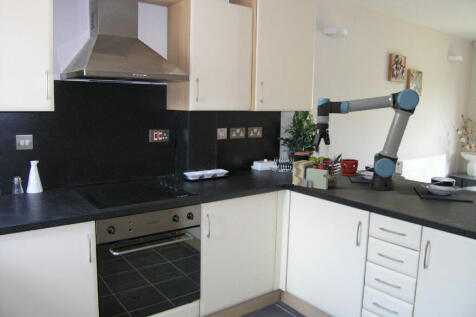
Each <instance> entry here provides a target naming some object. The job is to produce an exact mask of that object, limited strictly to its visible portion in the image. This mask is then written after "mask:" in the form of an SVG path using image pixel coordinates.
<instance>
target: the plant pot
mask: <svg viewBox="0 0 476 317" xmlns="http://www.w3.org/2000/svg"><path fill="white" fill-rule="evenodd" d="M358 167H359V159H355V158H354V159H353V158H343V159H340V170H341V175H343V176H346V177H354V176H357V174H358V173H357V171H358Z"/></svg>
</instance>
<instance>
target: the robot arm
mask: <svg viewBox="0 0 476 317" xmlns="http://www.w3.org/2000/svg"><path fill="white" fill-rule="evenodd" d="M419 103H420V96H419V94H418V92H417V91H416V90H414V89H412V88H406V89H402V90H401V91H397V92H393V93H390V94H389V95H383V96H381V95H380V96H373V97H367V98H359V99H352V100H351V99H350V100H344V101H331V99H330V98H326V97H320V98H318V99H317V105H316V106H317V108H316V109H317V111H316V129H317V130H316V132H315V137H314V140H313V147H314V158H320V148H321V147H320V145H321V141H322V140H323V143H324V146H323V155H324V156H328V155H329V147H330V146H331V140H330V139H331V138H330V133H329V129H330V128H329V126H330V114H334V115H335V114H342V115H347V114H349V113H353V112H354V113H355V112H362V111H371V110H379V109H389V108H391V109H393V111H394V115H393V118H392V120H391V124H390V127H389V130H388V133H387V134H386V135H387V136H386V138H385V142H384V144H383V147H382V149H381V150H380V151H379V152H376V153H375V154H374V156H373V171H372V177H371V180H370V182H369V189H371V190H376V191H381V192H382V191H384V192H388V191H394V190H395V185H394V181H393V180H394V179H393V174H394V173H395V172H396V166H397V163H398V159H399V157H398V152H399V148H400V146H401V143H402V140H403V138H404V135H405V131H406V129H407V127H408V123H409V120H410V117H411V116H413V115H415V112H416V109H417V106H418V105H419Z"/></svg>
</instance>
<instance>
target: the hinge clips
mask: <svg viewBox="0 0 476 317" xmlns="http://www.w3.org/2000/svg"><path fill="white" fill-rule="evenodd" d="M307 183H308V179H306V177H303V183H302V186H301V187H303V188H304V187H305V188H313V187H312V180H309V187H307Z"/></svg>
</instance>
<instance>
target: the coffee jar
mask: <svg viewBox="0 0 476 317" xmlns="http://www.w3.org/2000/svg"><path fill="white" fill-rule="evenodd" d="M309 155H310V153H309V152H298V151H297V152H294V158H293V159H294V162H297V161H302V160H306V161H310V156H309Z"/></svg>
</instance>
